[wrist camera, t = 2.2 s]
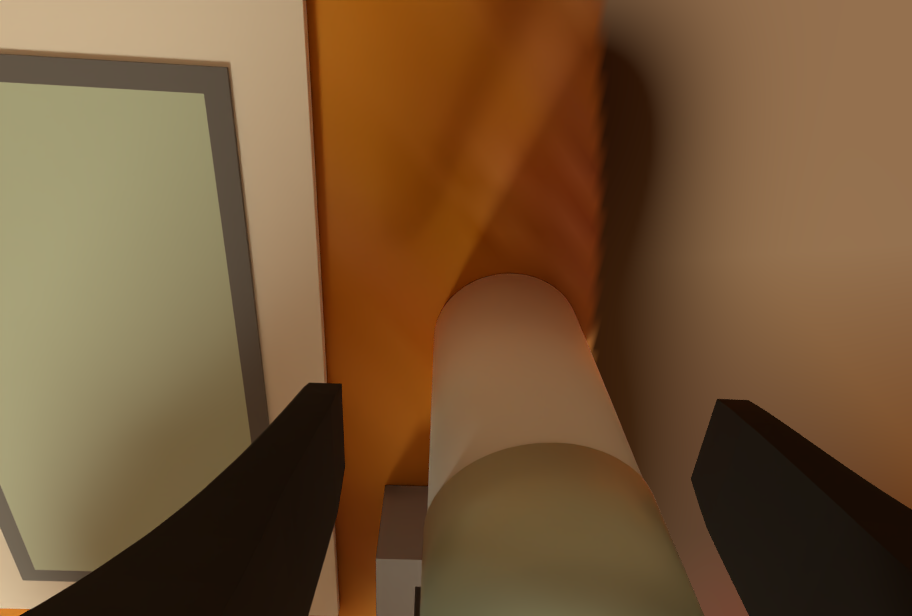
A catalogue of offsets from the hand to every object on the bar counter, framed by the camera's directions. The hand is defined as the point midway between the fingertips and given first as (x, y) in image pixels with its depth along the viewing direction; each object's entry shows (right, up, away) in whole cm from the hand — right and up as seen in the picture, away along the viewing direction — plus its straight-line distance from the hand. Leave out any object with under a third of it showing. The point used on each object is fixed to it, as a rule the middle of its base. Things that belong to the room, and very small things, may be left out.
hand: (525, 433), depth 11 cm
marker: (0, +2, +3) cm, 4 cm away
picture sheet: (-10, +1, +4) cm, 11 cm away
